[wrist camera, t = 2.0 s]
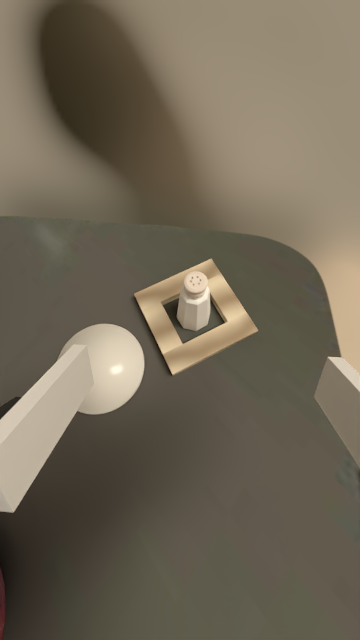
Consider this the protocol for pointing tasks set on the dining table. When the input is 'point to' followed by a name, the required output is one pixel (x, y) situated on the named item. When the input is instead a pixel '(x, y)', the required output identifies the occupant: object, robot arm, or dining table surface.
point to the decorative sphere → (2, 605)
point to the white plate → (110, 366)
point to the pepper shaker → (194, 301)
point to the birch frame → (207, 343)
